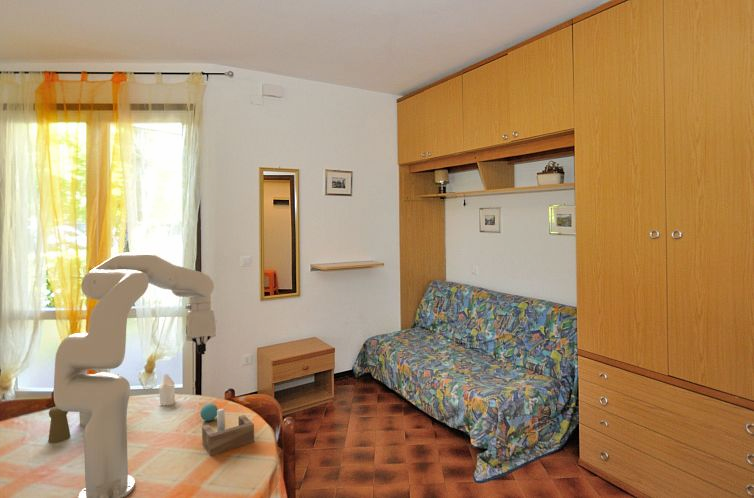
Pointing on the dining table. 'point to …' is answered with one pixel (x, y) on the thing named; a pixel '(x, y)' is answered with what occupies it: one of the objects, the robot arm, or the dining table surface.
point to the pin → (220, 420)
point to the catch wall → (228, 436)
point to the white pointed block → (167, 391)
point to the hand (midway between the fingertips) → (201, 353)
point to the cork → (58, 425)
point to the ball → (209, 412)
